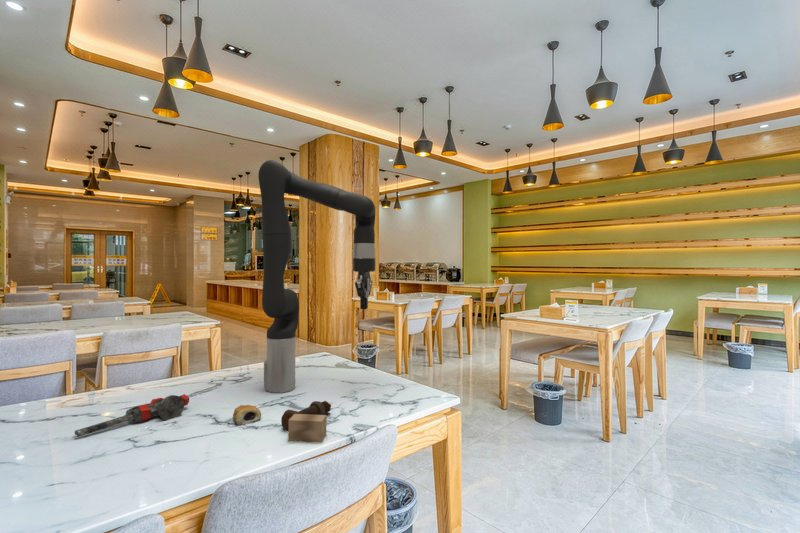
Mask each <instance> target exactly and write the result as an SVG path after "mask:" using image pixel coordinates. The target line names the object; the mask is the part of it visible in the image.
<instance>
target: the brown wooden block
mask: <svg viewBox="0 0 800 533" xmlns="http://www.w3.org/2000/svg"><path fill="white" fill-rule="evenodd" d="M287 436H288V437H287V438H288V439H287V440H288V442H300V441H302V442H303V443H304V442H306V443H322V442H323V441H324V439H325V438H326V437H327V415H326V414H324V415H310V414H294V415H293V416H292V417H291V418H290V419H289V427H288V435H287Z"/></svg>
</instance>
